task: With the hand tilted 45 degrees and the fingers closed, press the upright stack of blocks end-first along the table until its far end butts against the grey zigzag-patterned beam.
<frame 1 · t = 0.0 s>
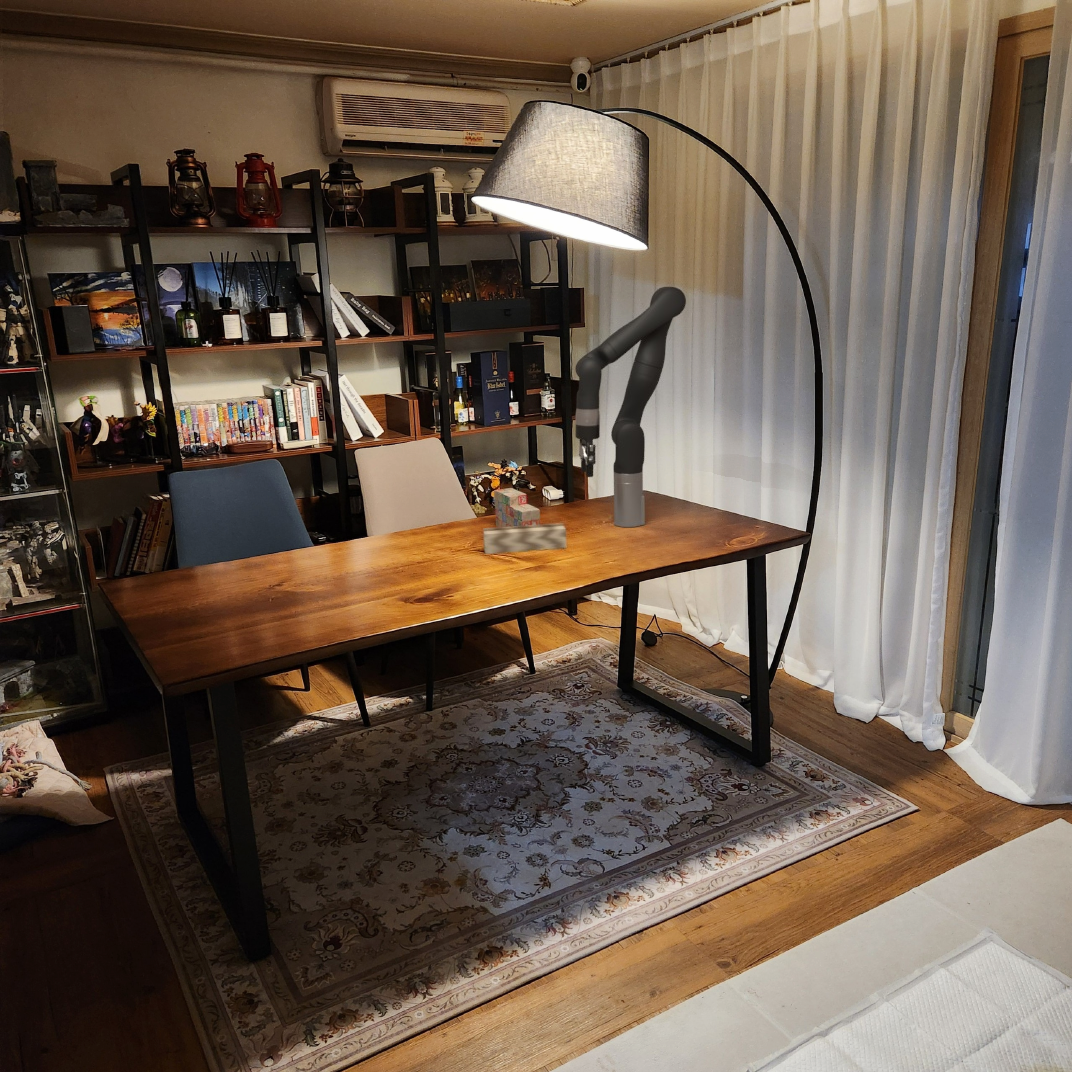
hand: (586, 474, 290), 17 cm above the table, tool pointing down, fingers open, 8 cm apart
stack of blocks: (517, 532, 292), on the table
grey zigzag-patterned beam: (525, 548, 273), on the table
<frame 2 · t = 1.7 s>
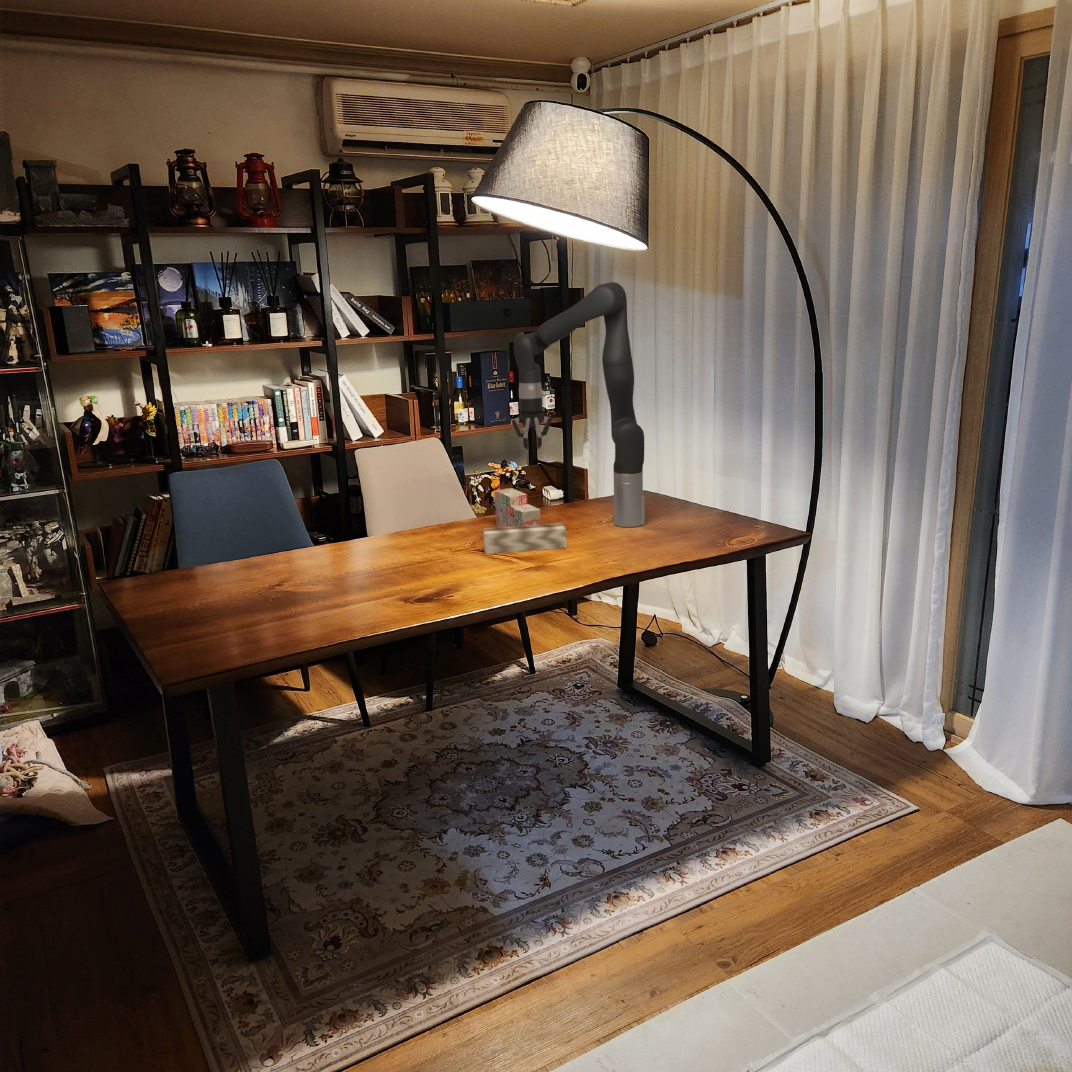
hand: (532, 448, 304), 23 cm above the table, tool pointing down, fingers open, 3 cm apart
nothing on the table moved.
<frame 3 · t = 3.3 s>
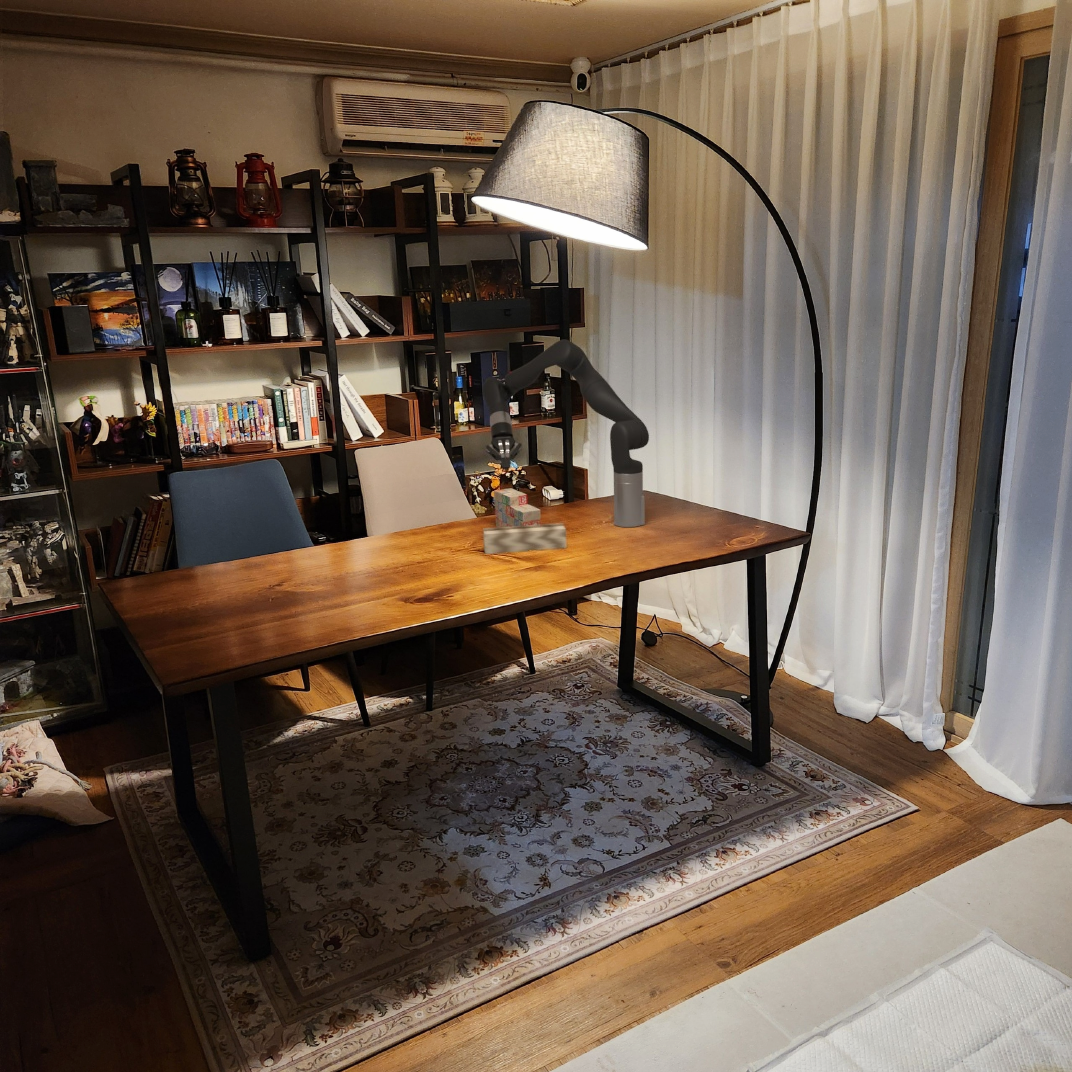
hand: (506, 468, 313), 15 cm above the table, tool tilted 45°, fingers closed
nothing on the table moved.
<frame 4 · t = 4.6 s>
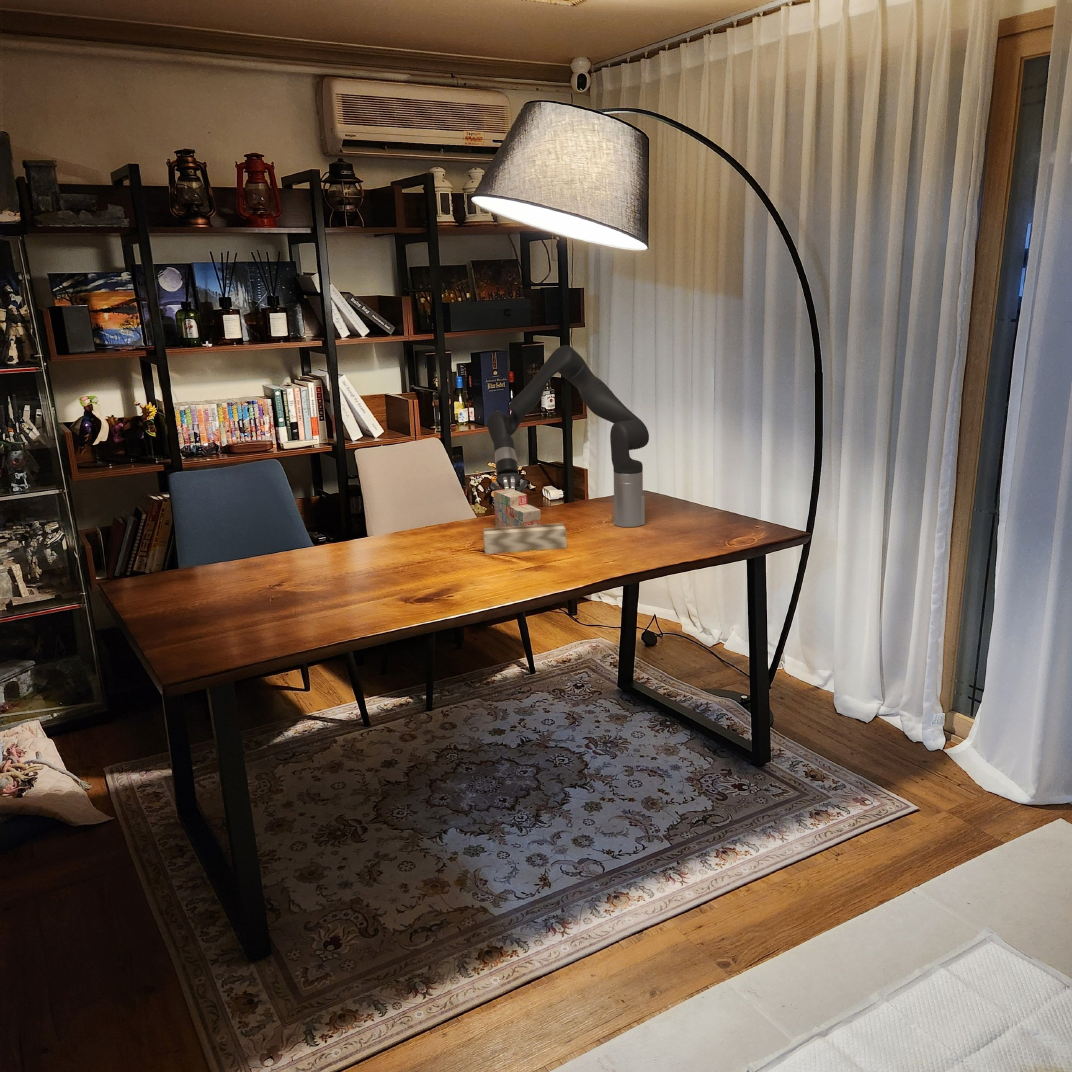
hand: (511, 506, 305), 5 cm above the table, tool tilted 45°, fingers closed
nothing on the table moved.
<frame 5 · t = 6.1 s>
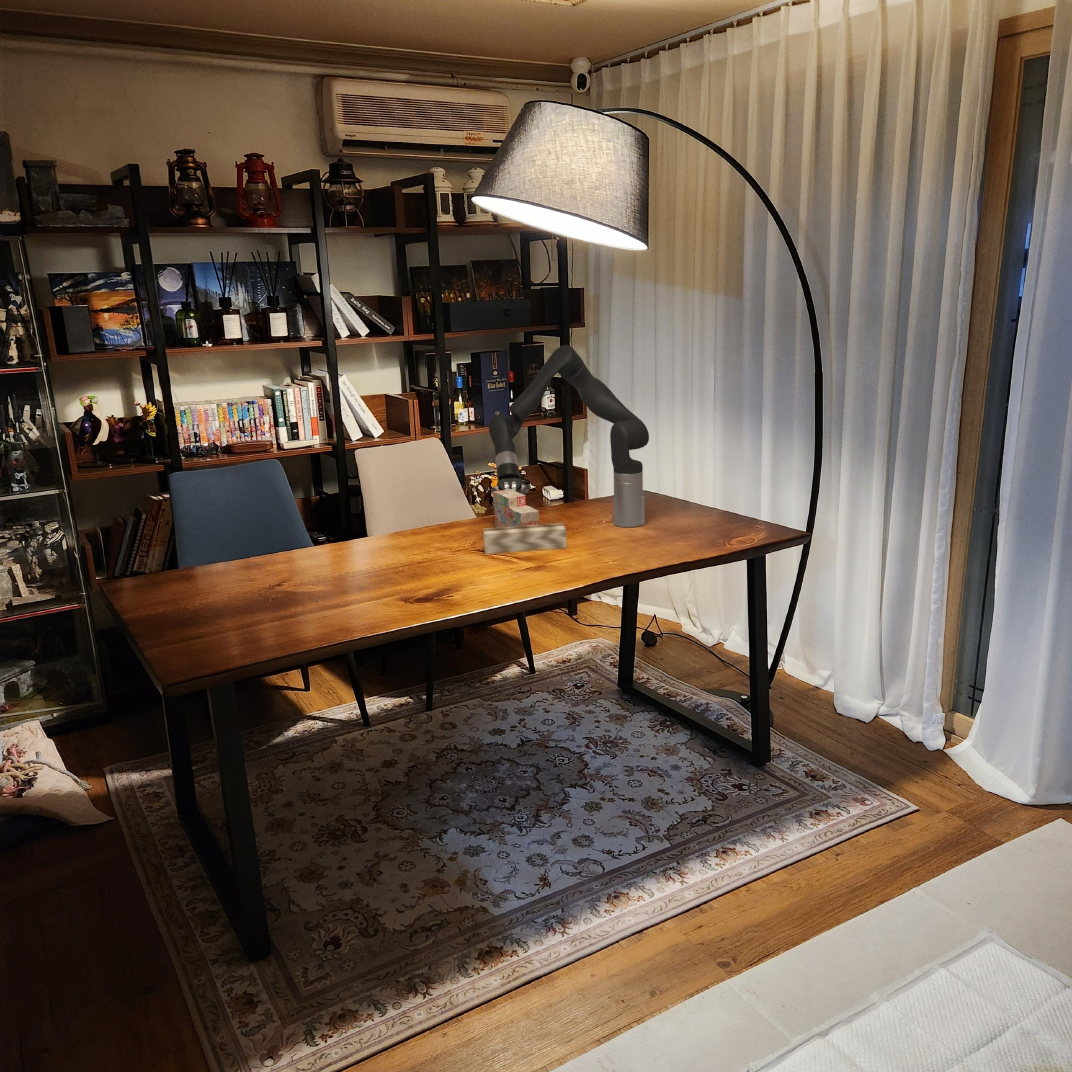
hand: (512, 512, 300), 4 cm above the table, tool tilted 45°, fingers closed
stack of blocks: (516, 534, 290), on the table, touching gripper
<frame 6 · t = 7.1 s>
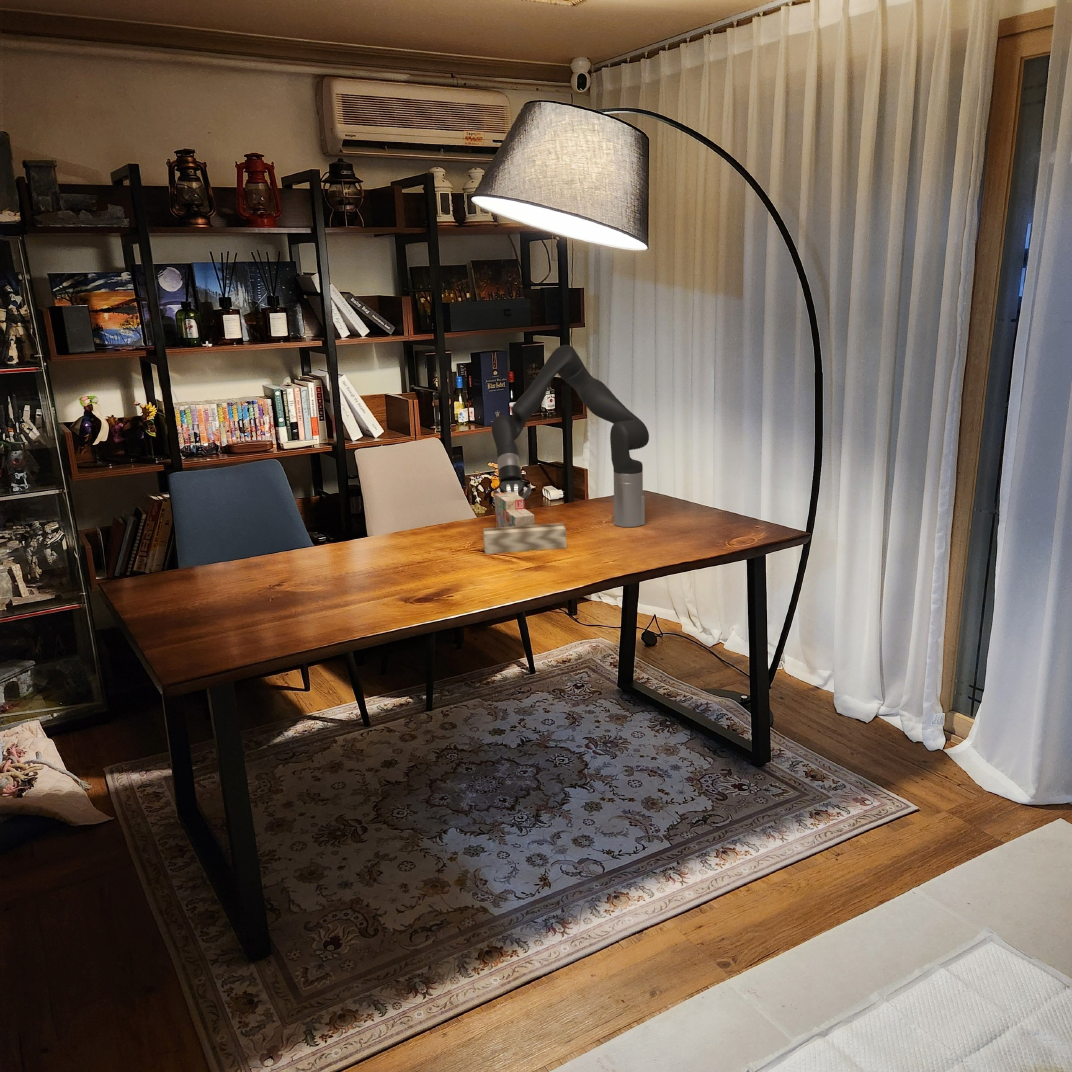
hand: (514, 515, 296), 4 cm above the table, tool tilted 45°, fingers closed
stack of blocks: (515, 538, 286), on the table, touching grey zigzag-patterned beam, gripper
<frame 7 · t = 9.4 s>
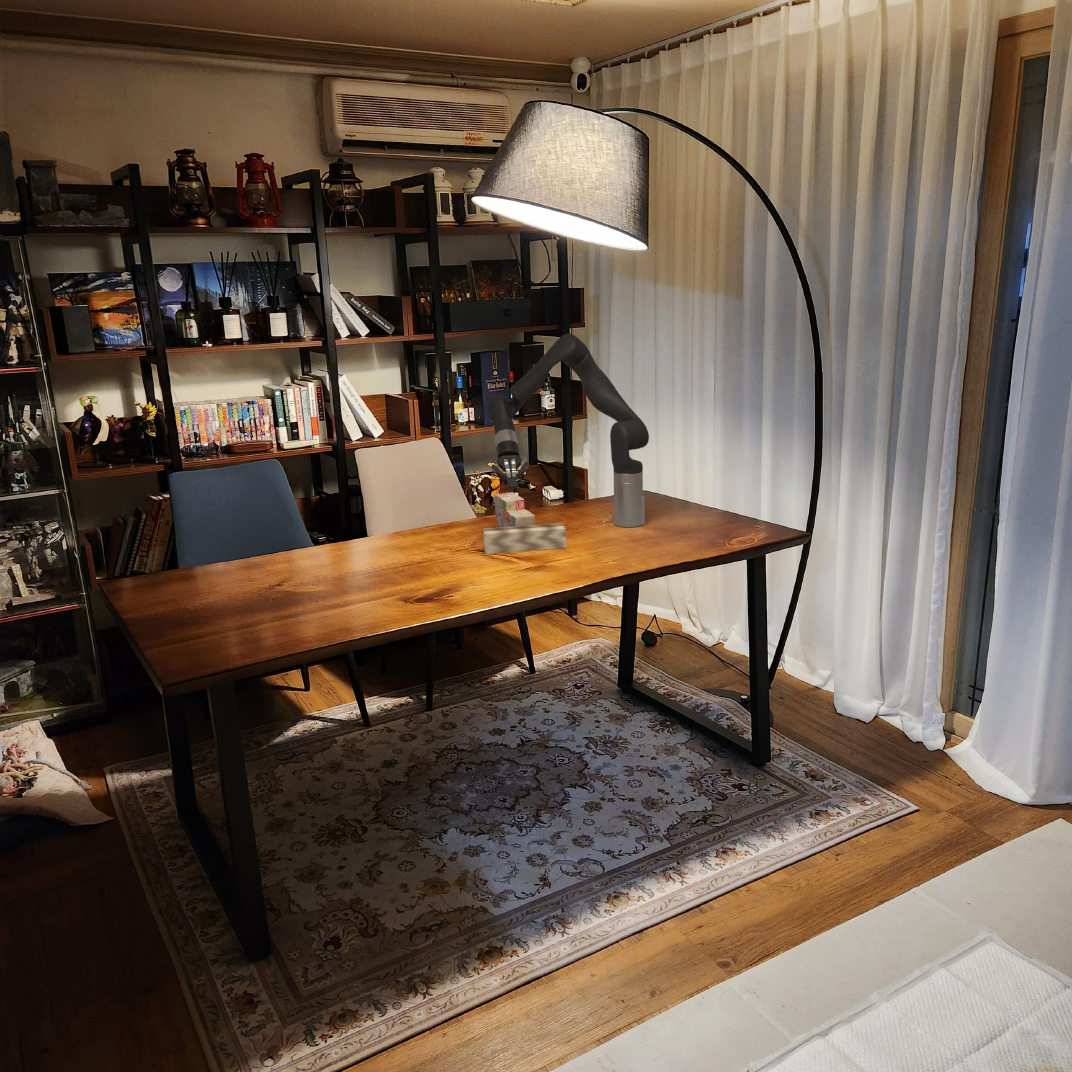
hand: (512, 488, 305), 11 cm above the table, tool tilted 45°, fingers closed
stack of blocks: (515, 538, 286), on the table
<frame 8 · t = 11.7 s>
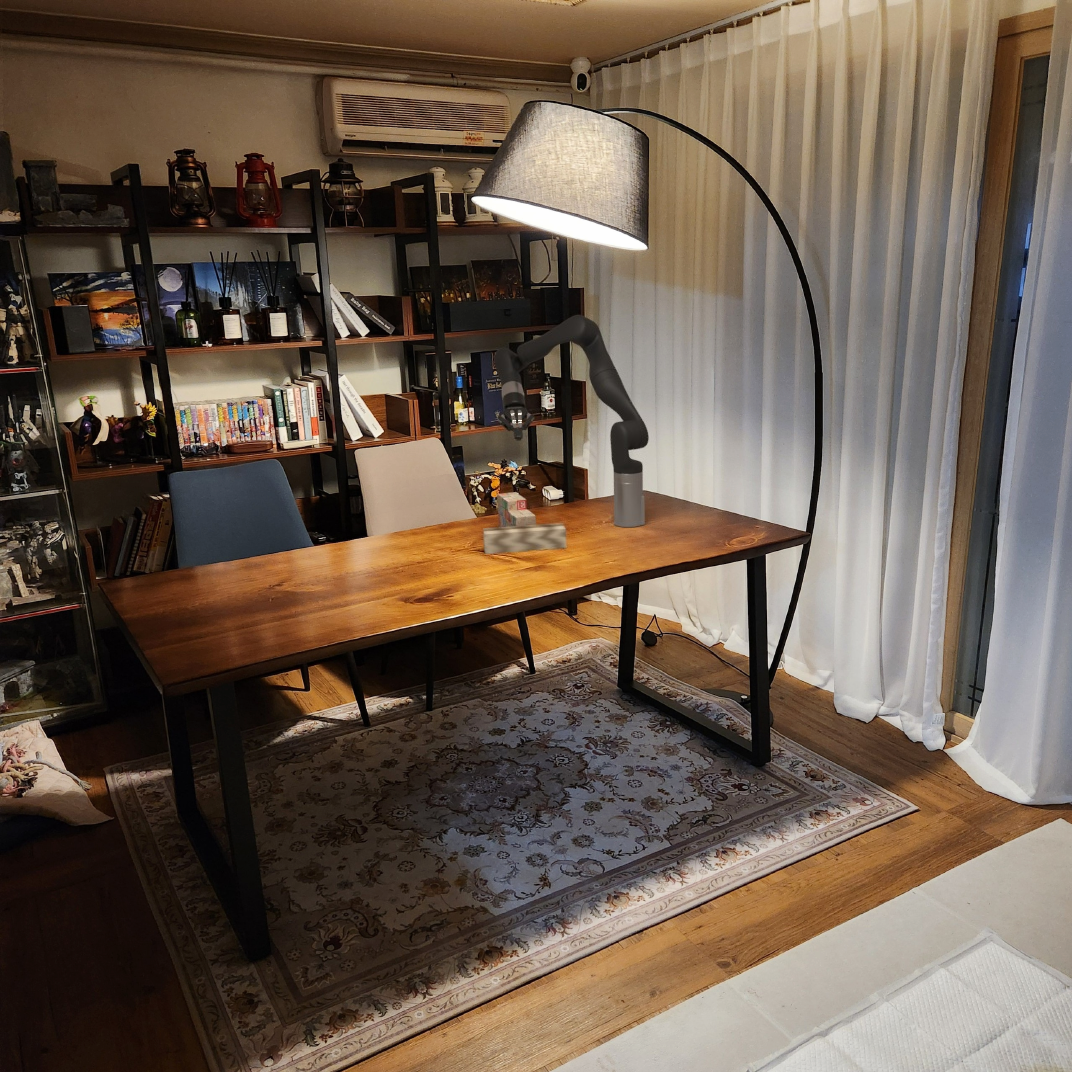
hand: (518, 439, 307), 26 cm above the table, tool tilted 45°, fingers closed
nothing on the table moved.
at the end: stack of blocks 0.9 cm from the target spot, on the table; stack of blocks tilted 0°; stack of blocks moved 6.6 cm from its start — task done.
